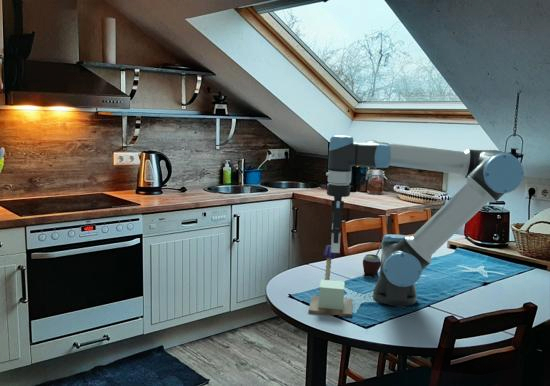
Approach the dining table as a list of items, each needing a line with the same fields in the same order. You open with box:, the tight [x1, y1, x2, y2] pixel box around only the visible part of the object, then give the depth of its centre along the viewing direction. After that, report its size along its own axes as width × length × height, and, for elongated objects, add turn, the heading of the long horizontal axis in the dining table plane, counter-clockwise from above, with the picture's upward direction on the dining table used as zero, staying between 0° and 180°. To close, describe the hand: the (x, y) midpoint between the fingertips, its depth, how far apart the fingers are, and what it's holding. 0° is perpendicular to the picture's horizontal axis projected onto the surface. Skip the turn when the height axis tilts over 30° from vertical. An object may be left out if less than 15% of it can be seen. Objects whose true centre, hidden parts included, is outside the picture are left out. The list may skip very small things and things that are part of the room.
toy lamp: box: [323, 244, 337, 280], centre depth 198 cm, size 5×5×17 cm
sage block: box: [318, 279, 346, 310], centre depth 182 cm, size 8×8×7 cm
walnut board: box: [308, 294, 353, 318], centre depth 183 cm, size 14×14×1 cm
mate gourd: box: [362, 243, 382, 279], centre depth 218 cm, size 8×8×15 cm
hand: (335, 247), depth 180 cm, fingers open, 13 cm apart
